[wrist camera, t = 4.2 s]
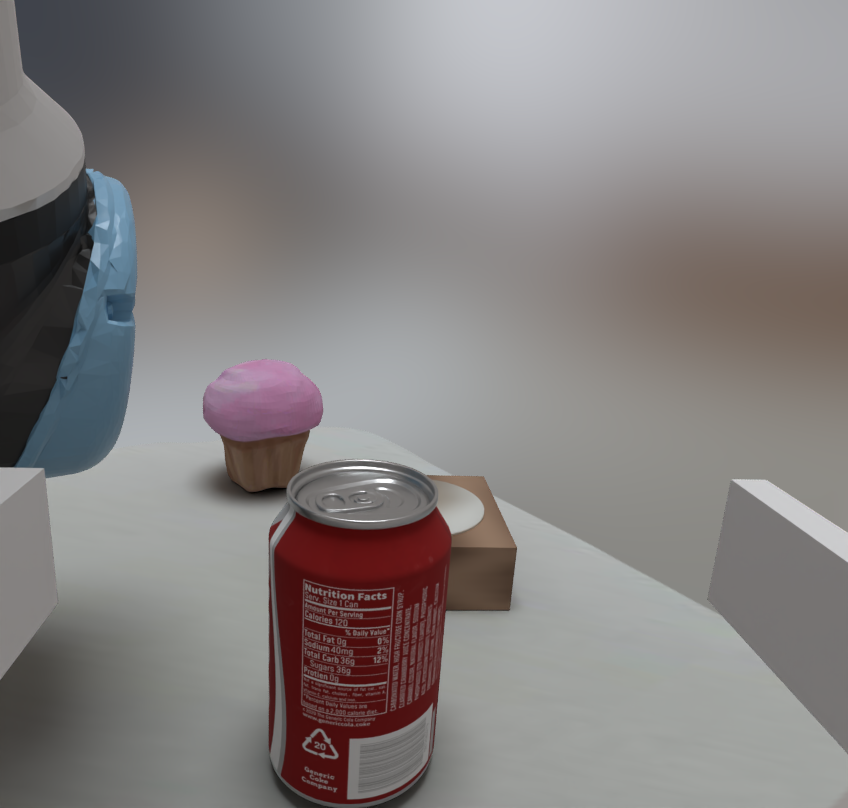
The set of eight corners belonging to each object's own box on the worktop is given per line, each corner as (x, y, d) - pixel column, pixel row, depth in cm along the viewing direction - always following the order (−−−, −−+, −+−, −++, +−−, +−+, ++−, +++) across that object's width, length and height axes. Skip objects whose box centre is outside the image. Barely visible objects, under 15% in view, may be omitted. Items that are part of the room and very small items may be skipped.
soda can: (458, 796, 26) (487, 517, 23) (284, 845, 24) (287, 542, 20) (401, 681, 32) (417, 448, 29) (257, 711, 30) (256, 459, 26)
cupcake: (299, 457, 58) (301, 346, 56) (336, 497, 51) (340, 371, 48) (194, 471, 54) (190, 350, 51) (218, 516, 47) (215, 379, 44)
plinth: (334, 609, 37) (336, 542, 36) (338, 526, 47) (340, 470, 45) (509, 609, 38) (517, 544, 37) (478, 527, 48) (484, 474, 47)
